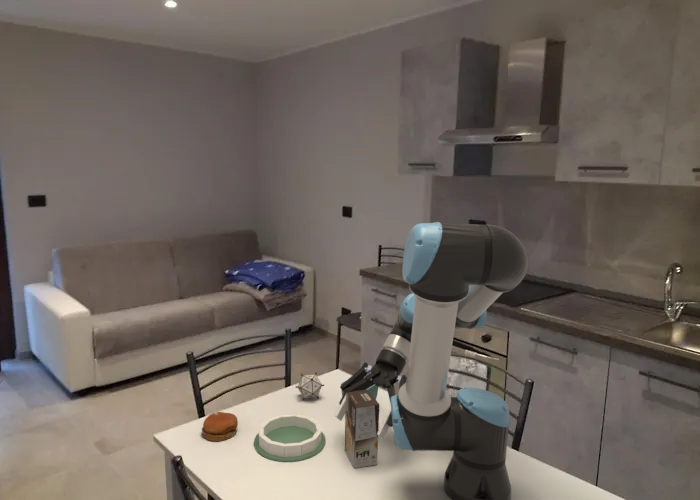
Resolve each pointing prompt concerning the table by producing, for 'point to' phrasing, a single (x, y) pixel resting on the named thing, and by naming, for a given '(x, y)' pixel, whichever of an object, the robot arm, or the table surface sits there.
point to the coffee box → (361, 428)
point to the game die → (309, 386)
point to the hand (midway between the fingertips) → (358, 427)
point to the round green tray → (289, 438)
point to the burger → (220, 426)
